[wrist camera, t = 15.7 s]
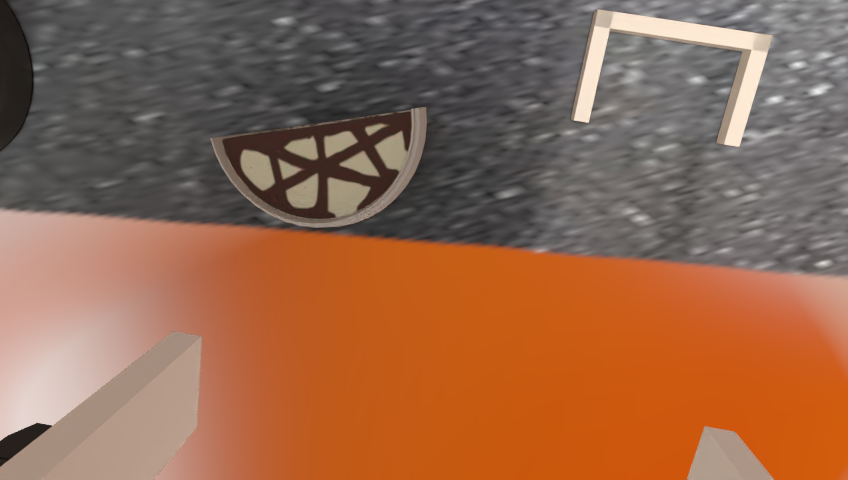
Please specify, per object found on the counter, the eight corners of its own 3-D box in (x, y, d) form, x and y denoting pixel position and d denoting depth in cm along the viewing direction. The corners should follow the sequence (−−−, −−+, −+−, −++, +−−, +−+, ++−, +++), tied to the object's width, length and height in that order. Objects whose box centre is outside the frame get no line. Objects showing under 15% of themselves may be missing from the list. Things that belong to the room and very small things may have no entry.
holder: (570, 119, 37) (573, 120, 36) (594, 12, 35) (598, 9, 34) (730, 145, 37) (739, 146, 36) (762, 37, 35) (772, 35, 34)
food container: (283, 213, 41) (226, 247, 31) (267, 130, 39) (200, 139, 29) (445, 192, 39) (438, 221, 29) (434, 106, 38) (422, 106, 28)
